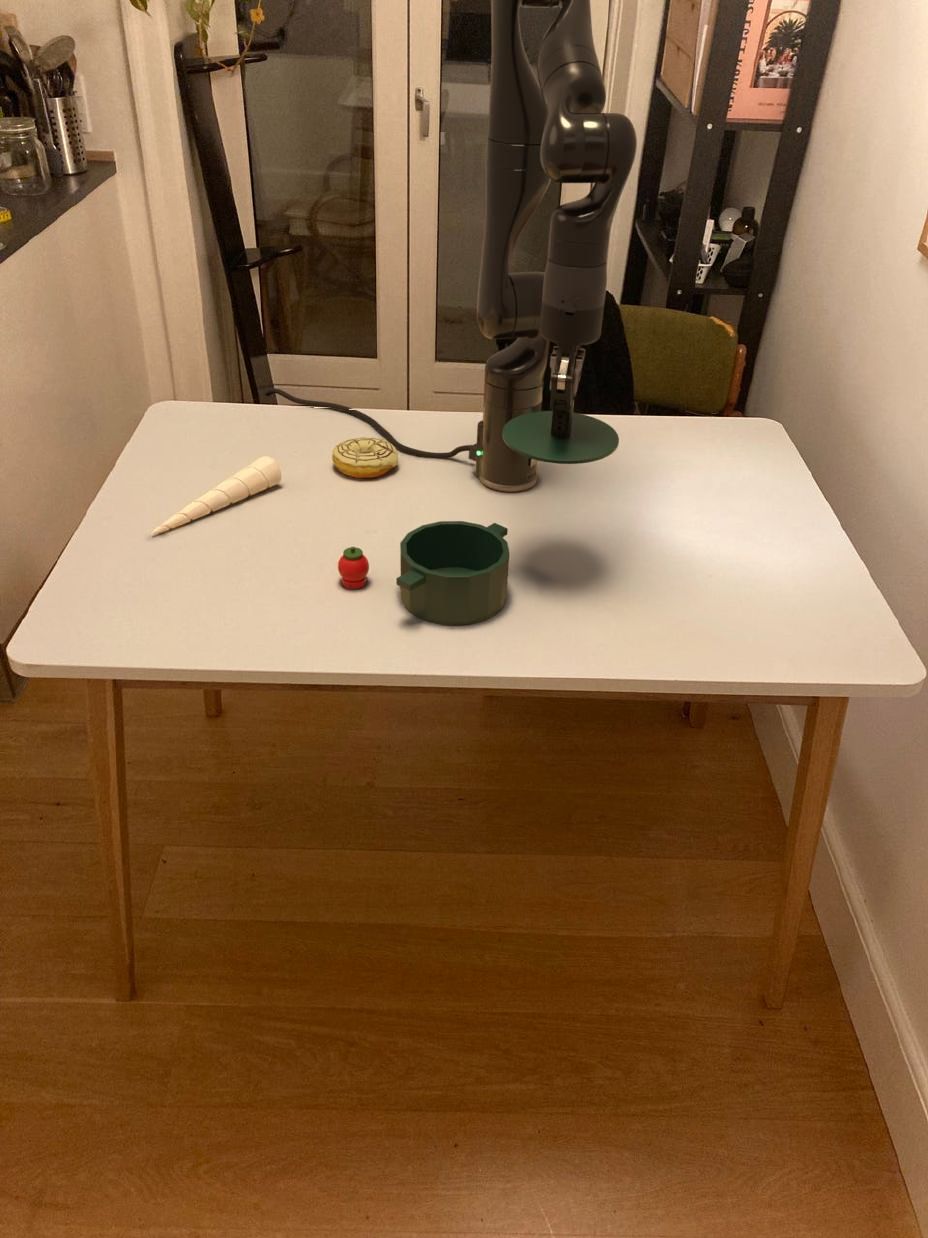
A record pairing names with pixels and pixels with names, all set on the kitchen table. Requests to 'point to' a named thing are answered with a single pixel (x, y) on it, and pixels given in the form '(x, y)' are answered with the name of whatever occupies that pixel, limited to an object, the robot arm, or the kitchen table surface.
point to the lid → (560, 438)
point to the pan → (454, 571)
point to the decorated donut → (365, 457)
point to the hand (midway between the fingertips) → (560, 430)
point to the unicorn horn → (228, 492)
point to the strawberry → (353, 568)
